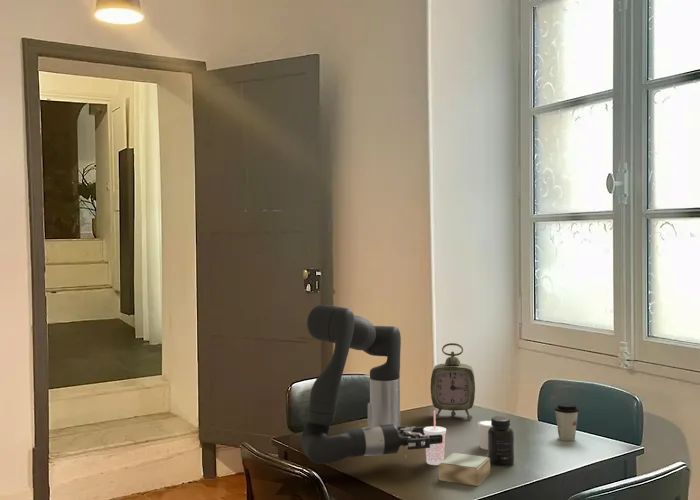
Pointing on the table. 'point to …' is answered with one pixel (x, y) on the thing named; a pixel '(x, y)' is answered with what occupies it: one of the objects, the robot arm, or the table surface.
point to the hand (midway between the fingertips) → (435, 434)
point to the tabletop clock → (453, 385)
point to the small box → (464, 469)
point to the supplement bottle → (501, 442)
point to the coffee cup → (566, 421)
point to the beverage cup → (436, 450)
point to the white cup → (484, 433)
